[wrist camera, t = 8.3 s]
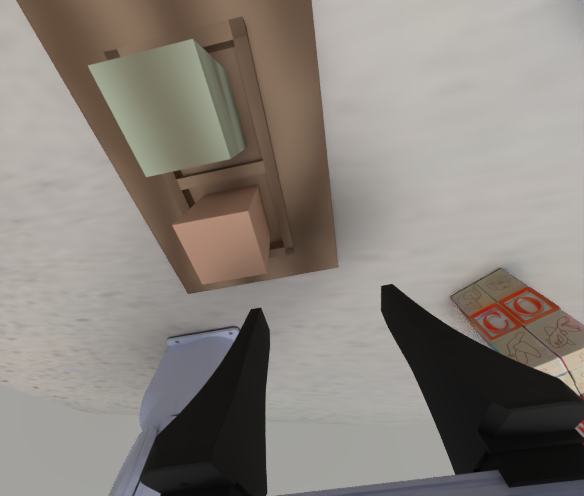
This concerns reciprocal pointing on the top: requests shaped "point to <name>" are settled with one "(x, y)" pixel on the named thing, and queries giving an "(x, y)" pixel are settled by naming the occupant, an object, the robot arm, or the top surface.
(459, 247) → the top surface
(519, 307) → the stack of blocks
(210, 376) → the robot arm
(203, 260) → the terracotta block
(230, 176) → the walnut base
